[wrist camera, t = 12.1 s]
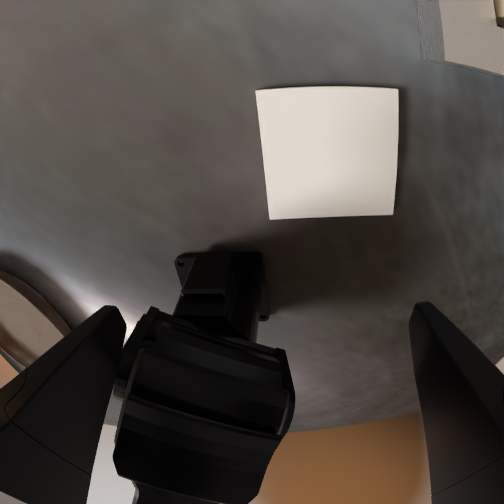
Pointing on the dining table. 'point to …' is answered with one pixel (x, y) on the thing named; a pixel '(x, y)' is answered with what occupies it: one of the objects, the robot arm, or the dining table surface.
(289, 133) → the white square tile
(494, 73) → the plate
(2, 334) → the plant saucer
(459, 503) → the robot arm
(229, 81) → the dining table surface
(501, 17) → the birch peg
